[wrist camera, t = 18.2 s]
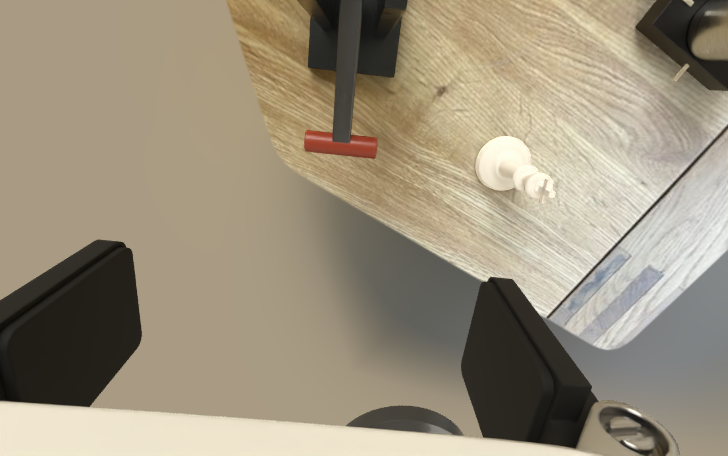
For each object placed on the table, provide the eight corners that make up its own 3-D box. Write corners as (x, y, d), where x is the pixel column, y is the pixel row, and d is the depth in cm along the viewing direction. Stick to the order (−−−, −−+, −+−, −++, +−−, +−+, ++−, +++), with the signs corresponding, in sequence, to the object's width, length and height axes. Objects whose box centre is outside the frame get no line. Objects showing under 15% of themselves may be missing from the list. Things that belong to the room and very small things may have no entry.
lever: (375, 147, 26) (375, 167, 25) (308, 139, 26) (302, 159, 24) (408, -80, 18) (410, -73, 16) (310, -93, 18) (302, -88, 16)
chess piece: (470, 186, 37) (507, 225, 27) (481, 133, 35) (525, 154, 25) (522, 191, 37) (576, 232, 27) (535, 138, 35) (598, 162, 26)
